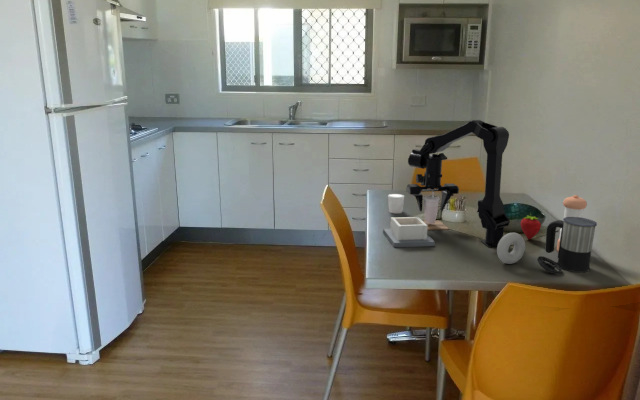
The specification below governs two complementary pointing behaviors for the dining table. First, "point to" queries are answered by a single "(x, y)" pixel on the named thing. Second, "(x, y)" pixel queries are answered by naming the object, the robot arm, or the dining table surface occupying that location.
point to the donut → (505, 244)
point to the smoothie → (431, 207)
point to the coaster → (436, 226)
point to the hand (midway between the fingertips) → (431, 211)
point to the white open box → (408, 232)
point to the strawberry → (530, 226)
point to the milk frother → (570, 245)
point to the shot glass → (395, 203)
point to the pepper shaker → (573, 209)
